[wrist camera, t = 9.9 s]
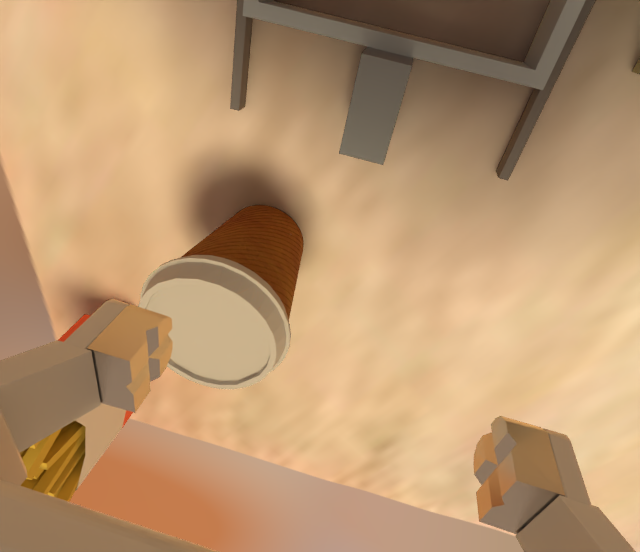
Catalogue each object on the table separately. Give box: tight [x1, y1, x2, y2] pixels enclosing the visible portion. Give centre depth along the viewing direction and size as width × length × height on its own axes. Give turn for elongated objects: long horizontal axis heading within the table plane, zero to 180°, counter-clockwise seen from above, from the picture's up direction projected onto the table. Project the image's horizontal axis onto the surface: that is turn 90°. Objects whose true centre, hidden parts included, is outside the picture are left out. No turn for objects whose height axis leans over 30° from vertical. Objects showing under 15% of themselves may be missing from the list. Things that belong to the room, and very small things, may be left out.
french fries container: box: [20, 314, 133, 502], centre depth 38 cm, size 5×11×18 cm, turn 175°
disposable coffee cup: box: [138, 205, 303, 389], centre depth 29 cm, size 10×10×12 cm
